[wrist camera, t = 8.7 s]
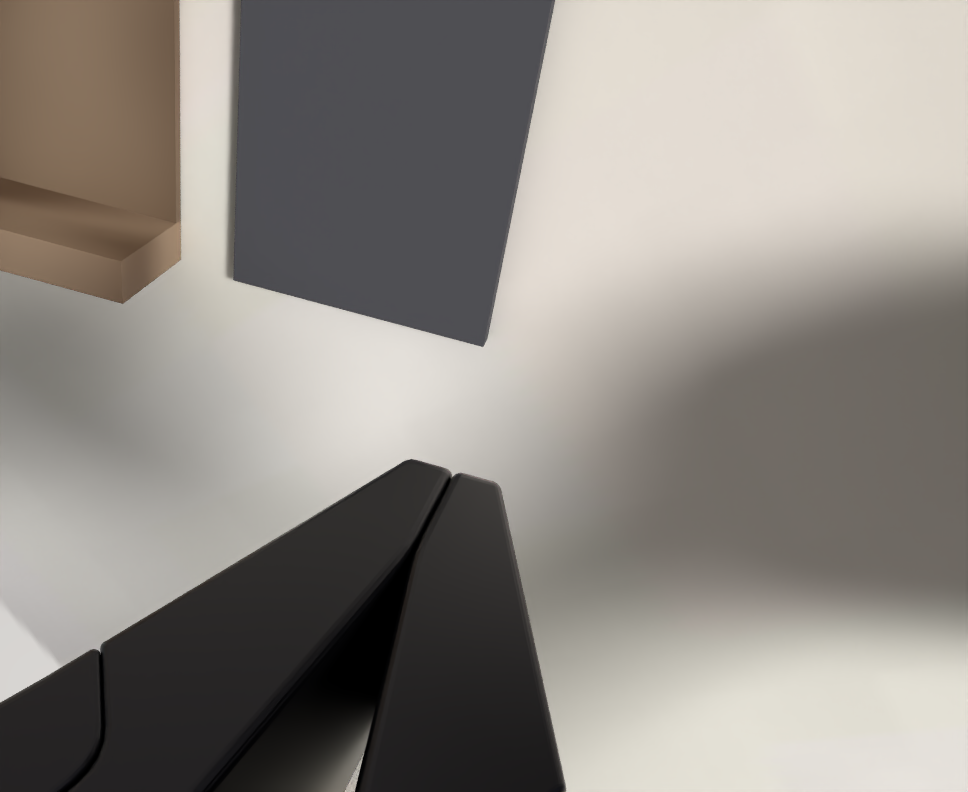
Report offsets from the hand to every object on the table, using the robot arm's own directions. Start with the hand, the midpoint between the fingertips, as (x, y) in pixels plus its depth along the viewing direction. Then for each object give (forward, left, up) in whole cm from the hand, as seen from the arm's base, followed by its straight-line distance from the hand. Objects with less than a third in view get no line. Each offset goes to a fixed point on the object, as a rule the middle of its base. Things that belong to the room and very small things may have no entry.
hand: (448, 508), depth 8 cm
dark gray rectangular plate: (+4, +2, -12) cm, 13 cm away
